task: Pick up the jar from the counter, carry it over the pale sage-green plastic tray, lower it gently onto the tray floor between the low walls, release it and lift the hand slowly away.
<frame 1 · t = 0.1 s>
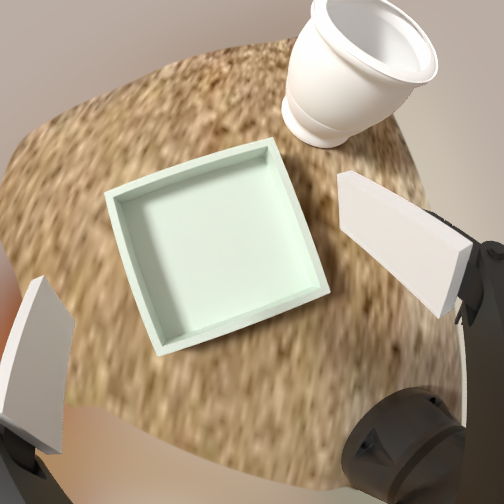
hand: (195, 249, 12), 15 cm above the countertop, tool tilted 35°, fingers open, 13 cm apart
tray: (214, 245, 27), on the countertop
jar: (317, 116, 30), on the countertop
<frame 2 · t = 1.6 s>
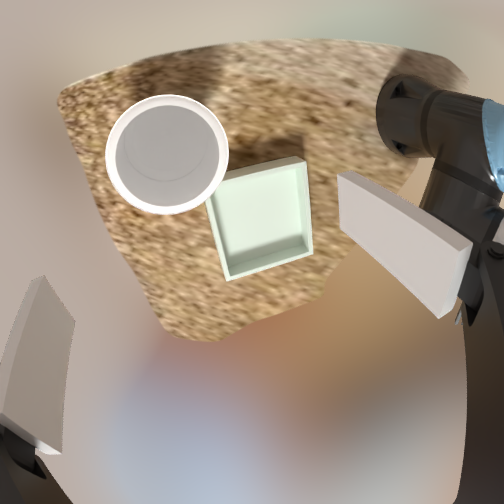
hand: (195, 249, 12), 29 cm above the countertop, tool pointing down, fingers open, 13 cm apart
tray: (257, 214, 44), on the countertop
jar: (165, 134, 35), on the countertop
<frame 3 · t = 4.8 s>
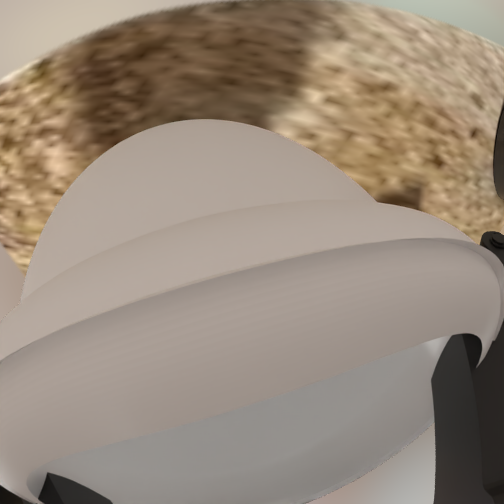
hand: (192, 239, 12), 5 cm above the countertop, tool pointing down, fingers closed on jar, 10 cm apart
jar: (181, 198, 16), on the countertop, touching gripper
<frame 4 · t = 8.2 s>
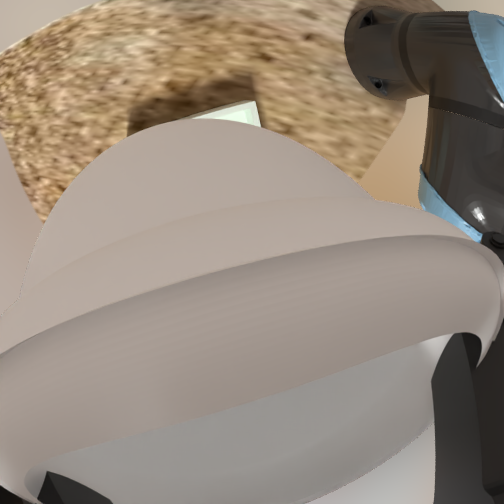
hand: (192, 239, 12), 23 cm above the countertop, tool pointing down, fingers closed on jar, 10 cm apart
tray: (204, 176, 35), on the countertop
jar: (181, 197, 16), point 18 cm above the countertop, touching gripper
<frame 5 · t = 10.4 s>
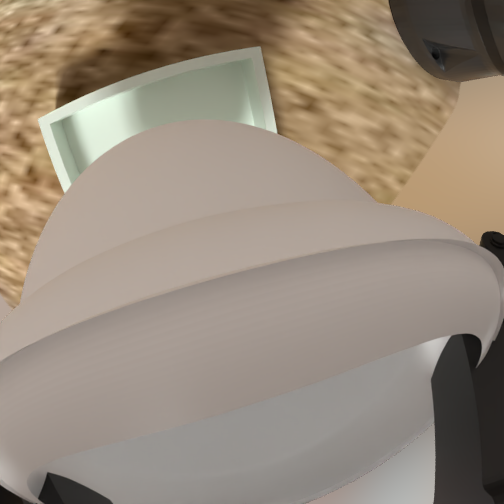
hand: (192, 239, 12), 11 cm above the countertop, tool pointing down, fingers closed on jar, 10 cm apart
tray: (173, 172, 21), on the countertop
jar: (181, 198, 16), point 6 cm above the countertop, touching gripper
when the fingers open (7 cm above the countertop, at t = 11.8 s): jar stays where it is, resting on tray.
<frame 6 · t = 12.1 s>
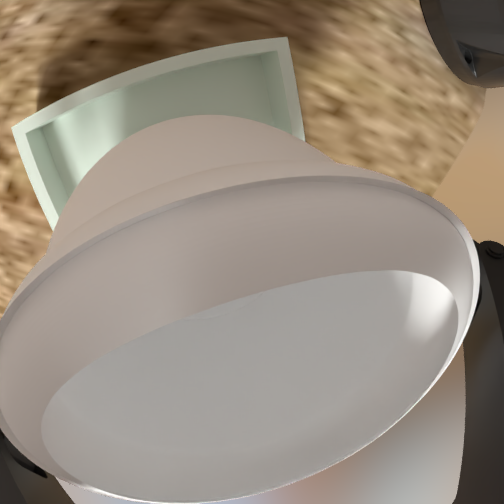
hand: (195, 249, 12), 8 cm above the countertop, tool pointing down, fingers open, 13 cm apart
tray: (178, 188, 18), on the countertop
jar: (184, 191, 17), point 1 cm above the countertop, touching tray
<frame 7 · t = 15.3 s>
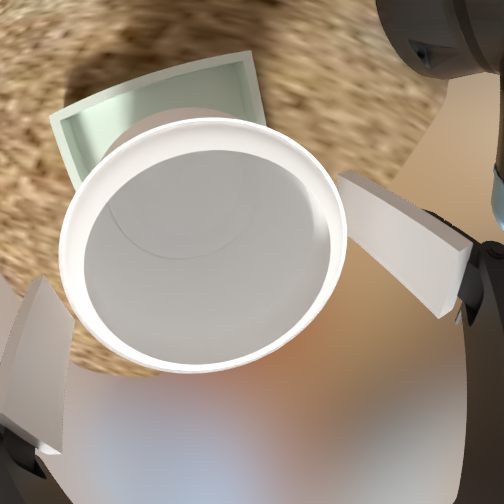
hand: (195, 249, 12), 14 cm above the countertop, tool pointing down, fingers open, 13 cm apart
tray: (172, 166, 23), on the countertop
jar: (177, 167, 22), point 1 cm above the countertop, touching tray
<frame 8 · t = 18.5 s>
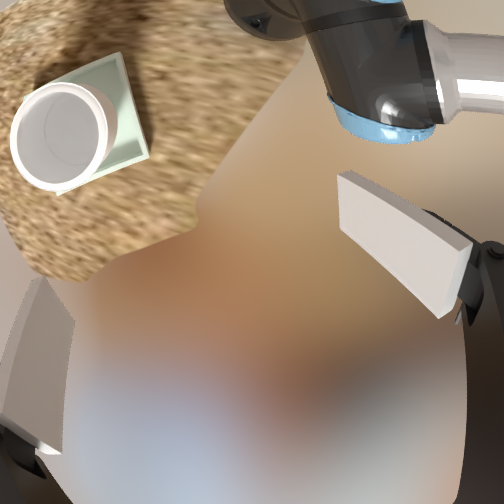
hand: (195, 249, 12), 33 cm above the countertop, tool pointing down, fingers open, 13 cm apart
tray: (88, 122, 33), on the countertop
jar: (89, 122, 33), point 1 cm above the countertop, touching tray
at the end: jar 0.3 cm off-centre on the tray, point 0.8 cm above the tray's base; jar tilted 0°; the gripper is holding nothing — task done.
